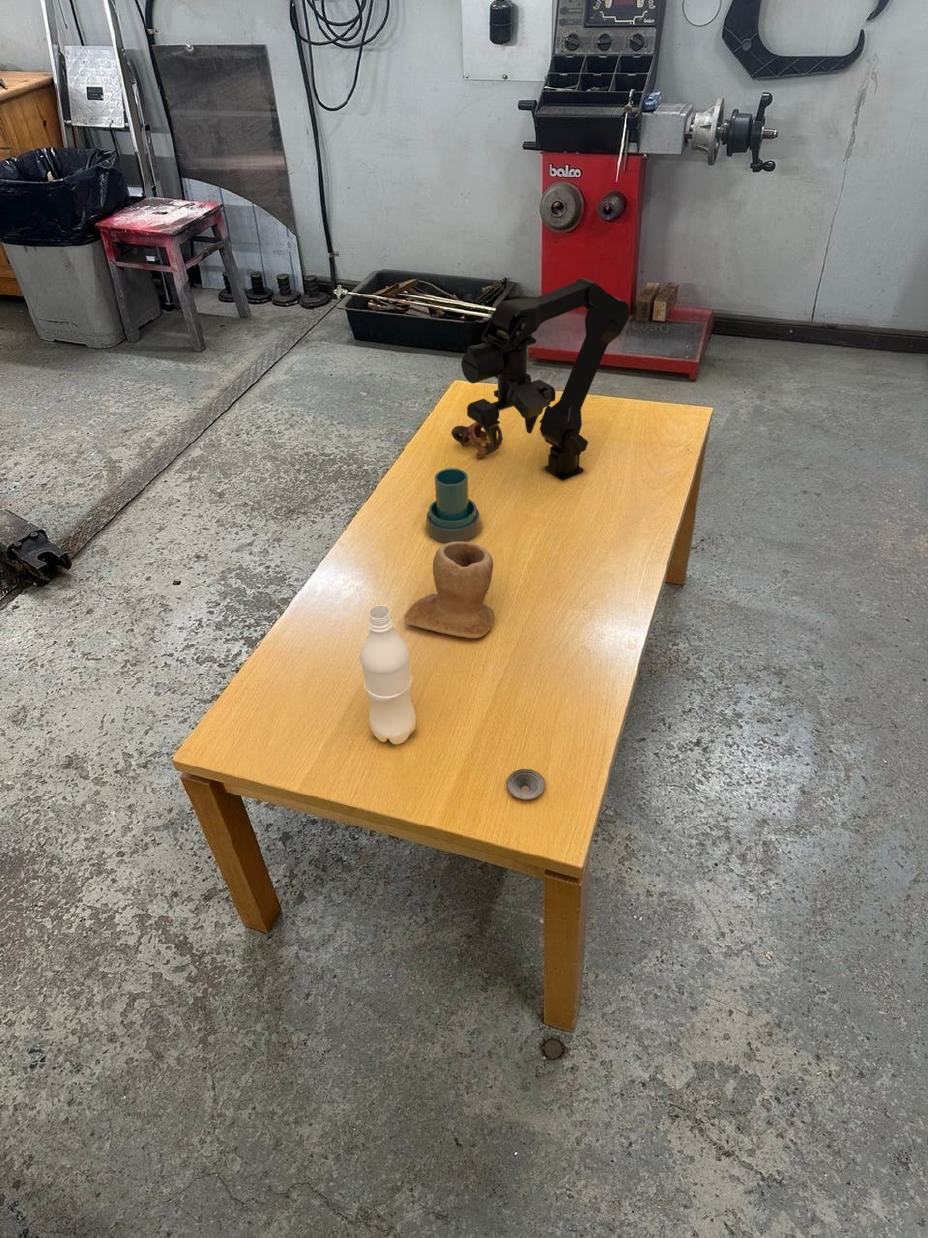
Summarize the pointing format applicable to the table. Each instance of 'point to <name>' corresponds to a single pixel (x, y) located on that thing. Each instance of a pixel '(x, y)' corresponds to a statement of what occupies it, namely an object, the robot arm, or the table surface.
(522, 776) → the dark grey round dish
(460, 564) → the stone cup
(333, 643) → the table surface
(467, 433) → the brown ring piece
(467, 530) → the stack base cup
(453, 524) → the stack top cup
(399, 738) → the water bottle
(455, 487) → the teal cup
